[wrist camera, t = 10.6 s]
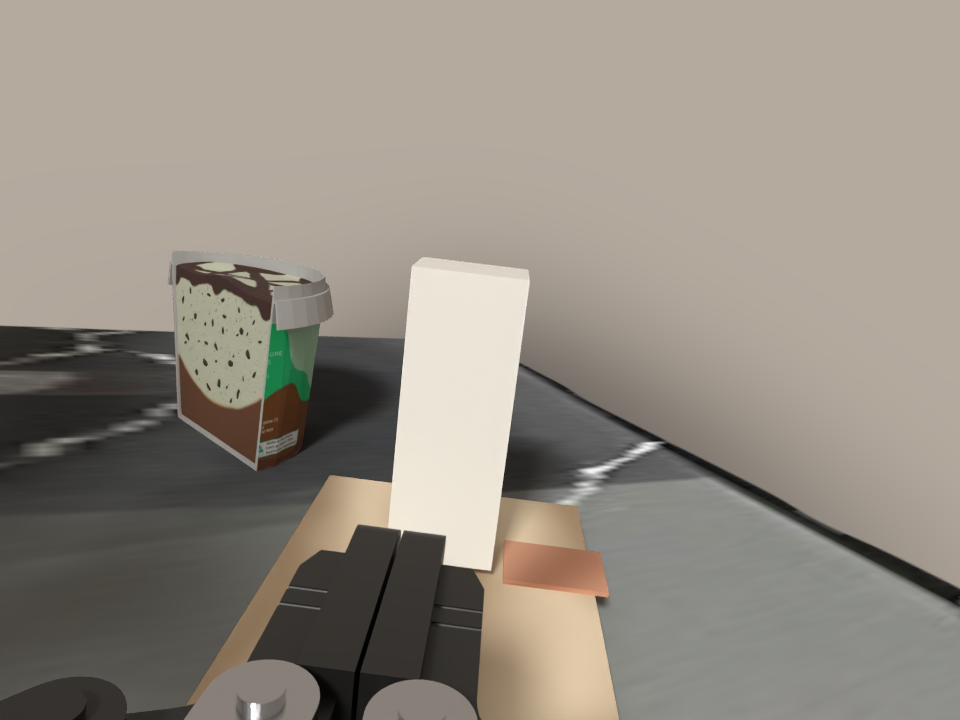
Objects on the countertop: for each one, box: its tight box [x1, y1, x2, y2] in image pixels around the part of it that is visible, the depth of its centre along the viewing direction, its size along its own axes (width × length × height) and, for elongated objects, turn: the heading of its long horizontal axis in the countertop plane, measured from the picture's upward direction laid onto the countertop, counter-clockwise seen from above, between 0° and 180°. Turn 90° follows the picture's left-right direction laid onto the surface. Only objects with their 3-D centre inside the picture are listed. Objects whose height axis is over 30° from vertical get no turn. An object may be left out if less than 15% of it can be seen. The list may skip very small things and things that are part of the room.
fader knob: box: [388, 257, 530, 571], centre depth 27 cm, size 4×3×11 cm
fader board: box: [186, 475, 619, 720], centre depth 21 cm, size 12×26×2 cm, turn 177°
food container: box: [168, 251, 333, 471], centre depth 41 cm, size 12×6×10 cm, turn 46°
